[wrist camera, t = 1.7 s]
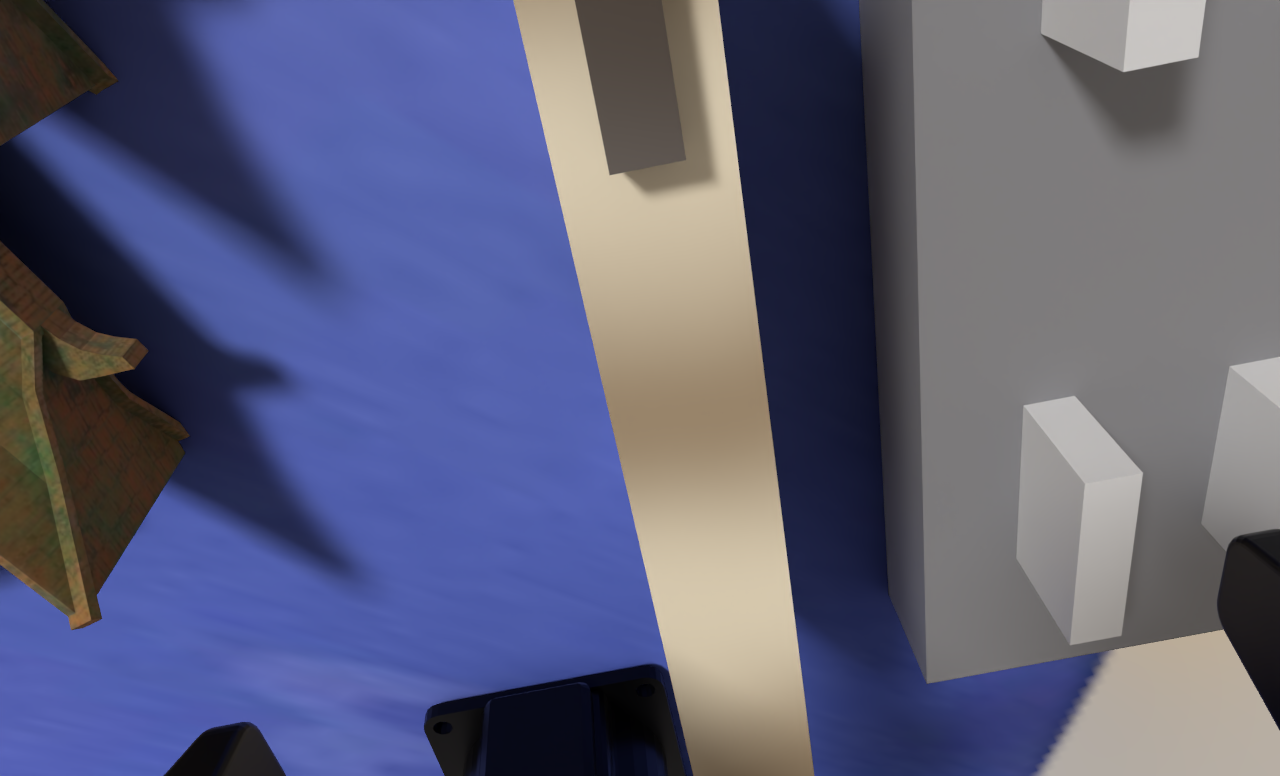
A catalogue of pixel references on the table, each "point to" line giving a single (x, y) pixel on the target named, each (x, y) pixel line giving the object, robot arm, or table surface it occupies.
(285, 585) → the table surface
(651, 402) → the birch door
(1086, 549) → the hinge plinth
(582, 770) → the robot arm
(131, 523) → the miniature gate
